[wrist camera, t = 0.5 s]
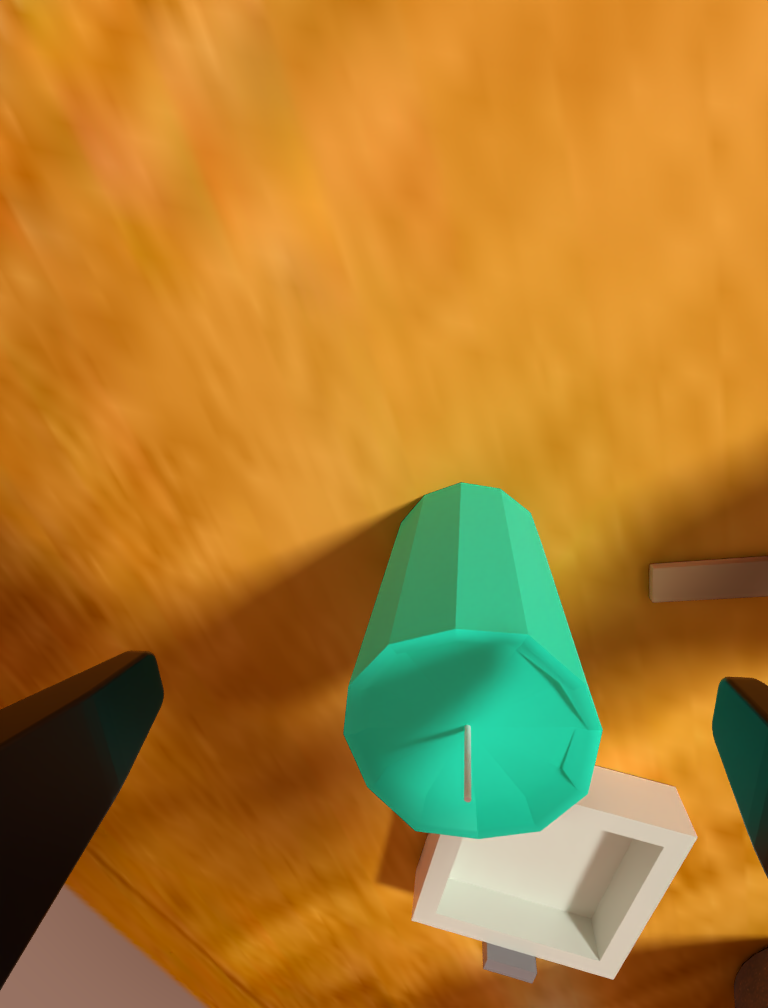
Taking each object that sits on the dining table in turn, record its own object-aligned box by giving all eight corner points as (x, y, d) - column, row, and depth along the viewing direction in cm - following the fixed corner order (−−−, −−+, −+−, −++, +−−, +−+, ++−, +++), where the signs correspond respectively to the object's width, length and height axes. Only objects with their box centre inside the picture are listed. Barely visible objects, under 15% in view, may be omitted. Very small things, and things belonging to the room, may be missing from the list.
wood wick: (883, 548, 19) (891, 552, 19) (877, 584, 20) (885, 589, 19) (649, 564, 21) (652, 568, 20) (649, 597, 21) (652, 602, 21)
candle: (501, 635, 23) (533, 941, 12) (374, 580, 23) (285, 833, 12) (570, 519, 21) (691, 758, 9) (430, 457, 21) (386, 624, 10)
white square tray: (675, 787, 24) (704, 853, 21) (595, 933, 28) (611, 1007, 25) (461, 729, 25) (460, 786, 22) (412, 880, 29) (406, 945, 26)
